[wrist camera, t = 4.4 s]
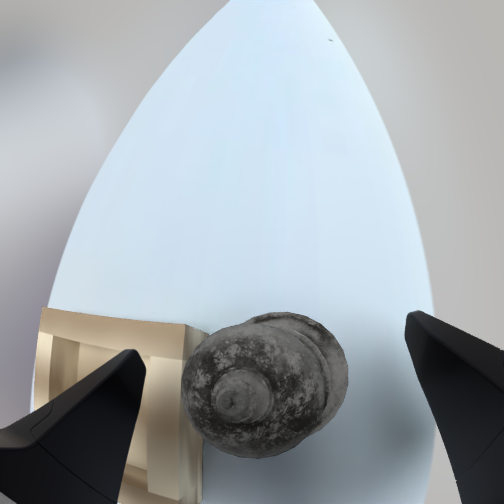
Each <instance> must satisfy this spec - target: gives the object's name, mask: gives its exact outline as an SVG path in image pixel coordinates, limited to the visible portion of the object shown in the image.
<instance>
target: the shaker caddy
mask: <svg viewBox="0 0 504 504" xmlns="http://www.w3.org/2000/svg"><path fill="white" fill-rule="evenodd" d="M208 336H209V334H208V333H205V332H203V331H200V330H198V329H195V328H193V327H190V326H188V325H186V324H173V323H161V322H150V321H140V320H130V319H121V318H113V317H105V316H97V315H90V314H83V313H77V312H70V311H64V310H58V309H52V308H47V307H43V308H42V314H41V320H40V326H39V334H38V342H37V352H36V364H35V382H34V411H35V410H37V409H39V408H40V407H42V406H43V405H45V404H46V403H48V402H49V401H51V400H52V399H55V397H57V396H58V395H59V394H61V393H62V392H64V391H65V390H67V389H68V388H70V387H71V386H73V385H74V384H75V383H77V382H78V381H80V380H81V379H83V378H84V377H86V376H87V375H89V374H90V373H91V372H93V371H94V370H96V369H97V368H99V367H100V366H102V365H103V364H104V363H106V362H107V361H109V360H110V359H112V358H113V357H115V356H116V355H117V354H119V353H120V352H122V351H123V350H125V349H136V350H137V351H138V353H139V354H140V356H141V358H142V360H143V362H144V364H145V366H146V377H145V383H144V389H143V394H142V400H141V406H140V410H139V414H138V418H137V421H136V425H135V429H134V433H133V437H132V441H131V444H130V449H129V453H128V457H127V461H126V465H125V469H124V474H123V478H122V483H121V488H120V492H119V497H118V502H119V503H121V504H199V503H200V502H201V501H202V461H203V438H202V436H201V435H200V434H199V433H198V432H197V431H196V430H195V429H194V428H193V426H192V424H191V422H190V421H189V419H188V417H187V415H186V413H185V410H184V406H183V402H182V398H181V378H182V374H183V371H184V367H185V364H186V362H187V360H188V359H189V357H190V355H191V354H192V352H193V350H194V349H195V348H196V347H197V346H198V345H199V344H200V343H201V342H202V341H203V340H204V339H205V338H206V337H208Z"/></svg>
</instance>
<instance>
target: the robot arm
mask: <svg viewBox="0 0 504 504" xmlns="http://www.w3.org/2000/svg"><path fill="white" fill-rule="evenodd" d="M404 335H405V341H406V344H407V347H408V350H409V353H410V356H411V359H412V362H413V365H414V368H415V371H416V374H417V377H418V380H419V382H420V384H421V387H422V389H423V391H424V394H425V396H426V398H427V401H428V403H429V406H430V408H431V411H432V413H433V416H434V418H435V421H436V423H437V426H438V429H439V431H440V434H441V437H442V440H443V442H444V445H445V448H446V451H447V454H448V457H449V460H450V463H451V466H452V470H453V473H454V476H455V479H456V480H457V481H456V483H457V487H458V491H459V494H460V498H461V502H462V504H504V350H500V349H499V348H497V347H495V346H493V345H491V344H489V343H487V342H485V341H483V340H481V339H479V338H477V337H474V336H473V335H470V334H468V333H466V332H464V331H462V330H460V329H458V328H456V327H454V326H452V325H450V324H448V323H445V322H443V321H441V320H439V319H437V318H435V317H433V316H431V315H428V314H426V313H424V312H422V311H420V310H418V311H414V312H410V313H408V315H407V318H406V326H405V334H404ZM145 377H146V366H145V364H144V362H143V360H142V358H141V356H140V354H139V353H138V351H137V350H136V349H125V350H123V351H122V352H120V353H119V354H117V355H116V356H115V357H113V358H112V359H110V360H109V361H107V362H106V363H104V364H103V365H102V366H100V367H99V368H97V369H96V370H94V371H93V372H91V373H90V374H89V375H87V376H86V377H84V378H83V379H81V380H80V381H78V382H77V383H75V384H74V385H73V386H71V387H70V388H68V389H67V390H65V391H64V392H62V393H61V394H59V395H58V396H57V397H55V399H52V400H51V401H49V402H48V403H46V404H45V405H43V406H42V407H40V408H39V409H37V410H35V411H34V412H32V413H30V414H29V415H27V416H25V417H23V418H22V419H20V420H18V421H16V422H15V423H13V424H11V425H10V426H7V427H5V428H3V429H0V504H117V502H118V497H119V492H120V488H121V483H122V478H123V474H124V469H125V465H126V461H127V457H128V453H129V449H130V444H131V441H132V437H133V433H134V429H135V425H136V421H137V418H138V414H139V410H140V406H141V400H142V394H143V389H144V383H145Z"/></svg>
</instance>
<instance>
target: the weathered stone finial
mask: <svg viewBox="0 0 504 504" xmlns="http://www.w3.org/2000/svg"><path fill="white" fill-rule="evenodd" d="M347 386H348V365H347V362H346V358H345V355H344V352H343V349H342V348H341V346H340V345H339V343H338V341H337V340H336V338H335V337H334V335H333V334H332V333H330V332H329V331H328V330H327V329H326V328H325V327H324V326H323V325H322V324H320V323H318V322H316V321H314V320H312V319H310V318H308V317H306V316H304V315H299V314H294V313H290V312H273V313H267V314H264V315H260V316H256V317H253V318H251V319H250V320H248V321H246V322H244V323H242V324H239V325H235V326H231V327H226V328H223V329H221V330H219V331H217V332H215V333H213V334H212V335H210V336H208V337H206V338H205V339H204V340H203V341H202V342H201V343H200V344H199V345H198V346H197V347H196V348H195V349H194V350H193V352H192V354H191V355H190V357H189V359H188V360H187V362H186V364H185V367H184V371H183V374H182V378H181V398H182V402H183V406H184V410H185V413H186V415H187V417H188V419H189V421H190V422H191V424H192V426H193V428H194V429H195V430H196V431H197V432H198V433H199V434H200V435H201V436H202V438H203V439H204V440H205V441H207V442H208V443H210V444H211V445H213V446H214V447H216V448H217V449H219V450H220V451H223V452H225V453H228V454H231V455H234V456H237V457H243V458H256V459H259V458H265V457H271V456H276V455H279V454H281V453H283V452H285V451H288V450H290V449H292V448H294V447H295V446H296V445H298V444H299V443H300V442H301V441H302V440H304V439H305V438H306V437H308V436H309V435H311V434H313V433H315V432H317V431H319V430H320V429H322V428H323V427H324V426H325V425H326V424H327V423H328V422H329V421H330V420H331V419H332V418H333V417H334V416H335V414H336V413H337V411H338V409H339V408H340V406H341V404H342V403H343V401H344V397H345V394H346V390H347Z"/></svg>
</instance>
